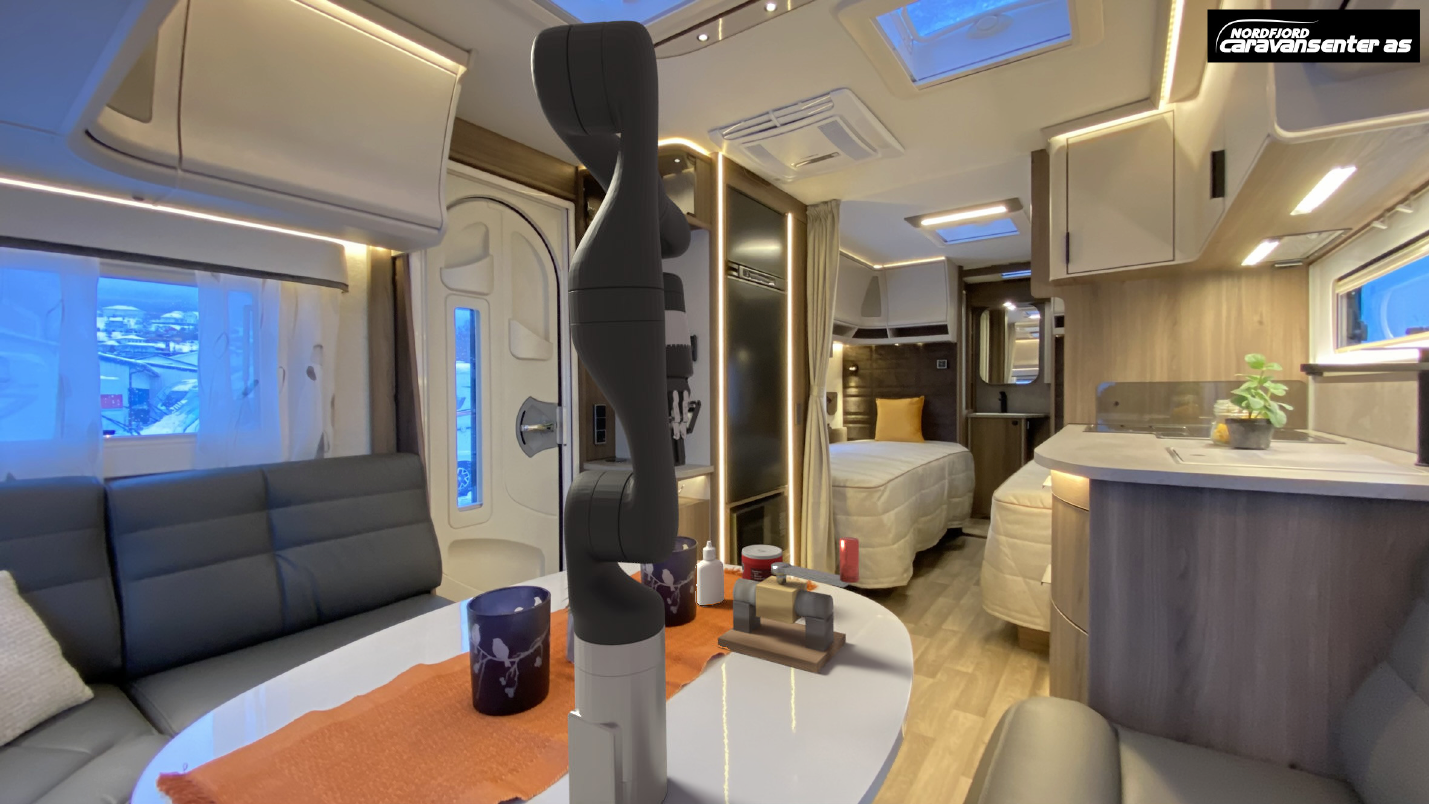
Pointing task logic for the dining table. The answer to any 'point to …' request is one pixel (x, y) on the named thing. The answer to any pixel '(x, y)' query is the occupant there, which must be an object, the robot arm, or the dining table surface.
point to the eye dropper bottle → (710, 577)
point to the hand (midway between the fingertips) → (676, 465)
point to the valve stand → (783, 624)
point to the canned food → (759, 561)
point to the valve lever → (847, 572)
